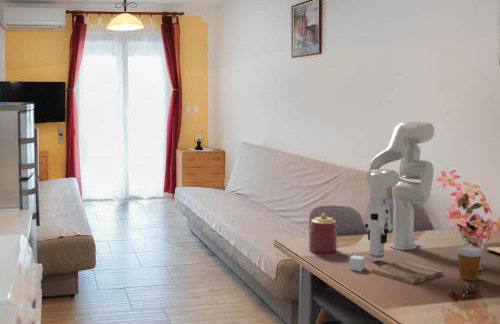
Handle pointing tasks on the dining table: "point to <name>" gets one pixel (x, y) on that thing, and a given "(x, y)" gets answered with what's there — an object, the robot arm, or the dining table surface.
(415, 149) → the robot arm
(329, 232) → the canister
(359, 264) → the grey-blue block
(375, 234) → the travel mug
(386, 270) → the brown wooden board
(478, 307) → the dining table surface
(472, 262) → the disposable coffee cup
